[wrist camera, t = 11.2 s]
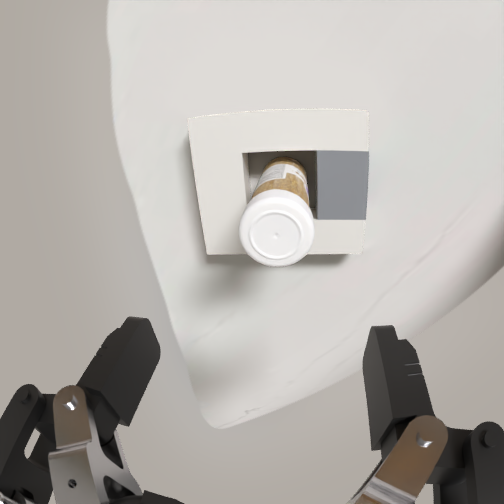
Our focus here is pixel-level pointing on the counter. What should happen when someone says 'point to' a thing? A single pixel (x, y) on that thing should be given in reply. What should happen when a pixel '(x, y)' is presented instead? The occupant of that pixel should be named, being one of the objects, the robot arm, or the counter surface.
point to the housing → (283, 139)
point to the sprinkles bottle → (278, 216)
